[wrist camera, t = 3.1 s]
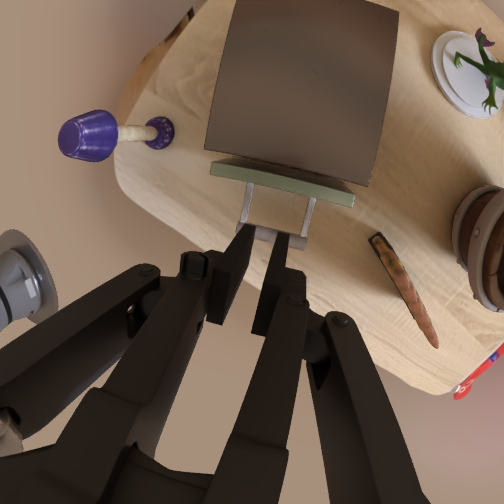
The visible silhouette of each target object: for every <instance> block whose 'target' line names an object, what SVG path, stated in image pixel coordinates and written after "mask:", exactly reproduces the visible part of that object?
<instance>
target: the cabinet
mask: <svg viewBox="0 0 504 504" xmlns="http://www.w3.org/2000/svg"><path fill="white" fill-rule="evenodd" d="M398 23H399V12H398V11H396V10H393V9H390V8H387V7H384V6H381V5H379V4H375V3H372V2H369V1H366V0H236V3H235V7H234V11H233V14H232V18H231V22H230V26H229V30H228V34H227V38H226V42H225V46H224V50H223V55H222V59H221V63H220V68H219V72H218V77H217V82H216V86H215V91H214V96H213V101H212V106H211V111H210V117H209V122H208V127H207V133H206V139H205V144H204V149H205V150H210V151H216V152H222V153H228V154H233V155H239V156H244V157H249V158H254V159H259V160H264V161H268V162H273V163H278V164H282V165H286V166H291V167H295V168H299V169H303V170H307V171H311V172H315V173H319V174H323V175H327V176H330V177H334V178H338V179H341V180H345V181H349V182H352V183H355V184H359V185H362V186H366V187H368V185H369V181H370V177H371V173H372V170H373V166H374V161H375V157H376V153H377V149H378V145H379V140H380V136H381V131H382V126H383V122H384V117H385V112H386V107H387V101H388V96H389V90H390V84H391V78H392V72H393V65H394V58H395V50H396V42H397V33H398Z"/></svg>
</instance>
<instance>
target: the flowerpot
mask: <svg viewBox="0 0 504 504" xmlns="http://www.w3.org/2000/svg"><path fill="white" fill-rule="evenodd" d="M452 243H453V248H454V252H455V255H456V257H457V263H458V264H460V265H461V266H462V268H463V269H464V270H465V271H467V272H468V277H469V283H470V286H471V289H472V291H473V293H474V295H473V298H474V299H475V300H478V301H479V302H480V303H481V304H482V305H483V306H484V307H485V308H487V309H489V310H491V311H493V312H500V313H504V189H503V188H501V187H498V186H494V185H488V186H487V185H486V184H483V185H482V187H479V188H477V189H475V190H473V191H472V192H471V193H470V194H468V195H467V197H466V198H465V199H464V200H463V201H462V203H461V204H460V206H459V207H458V209H457V211H456V213H455V216H454V220H453V227H452Z"/></svg>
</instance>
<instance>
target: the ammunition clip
mask: <svg viewBox="0 0 504 504" xmlns="http://www.w3.org/2000/svg"><path fill="white" fill-rule="evenodd" d="M368 241H369V243H370V244H371V246H372V248H373V249H374V251H375V253H376V254H377V256H378V258H379V259H380V261H381V262H382V264H383V266H384V267H385V269H386V271H387V272H388V274H389V276H390V277H391V279H392V281H393V282H394V284H395V286H396V288H397V289H398V291H399V293H400V295H401V296H402V298H403V300H404V302H405V303H406V305H407V307H408V309H409V311H410V313H411V314H412V316H413V318H414V320H416V322H417V324H418V326H419V328H420V329H421V330H422V331H423V333H424V334H425V336H426V338H427V340H428V341H429V342H430V344H431V345H432V346H433V347H435V348H436V349H438V348H439V342H438V337H437V335H436V332H435V330H434V328H433V326H432V322H431V319H430V318H429V316H428V314H427V311H426V309H425V307H424V305H423V303H422V301H421V299H420V297H419V295H418V293H417V291H416V289H415V287H414V286H413V284H412V282H411V280H410V278H409V276H408V274H407V272H406V271H405V269H404V267H403V265H402V263H401V262H400V260H399V258H398V256H397V255H396V253H395V251H394V250H393V248H392V247H391V245H390V244H389V243H388V241H387V240H386V239H385V237H384V236H383V235H382V233H381V232H378V233H377V234H375V235H374V236H372V237H371V238H370V239H368Z"/></svg>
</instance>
